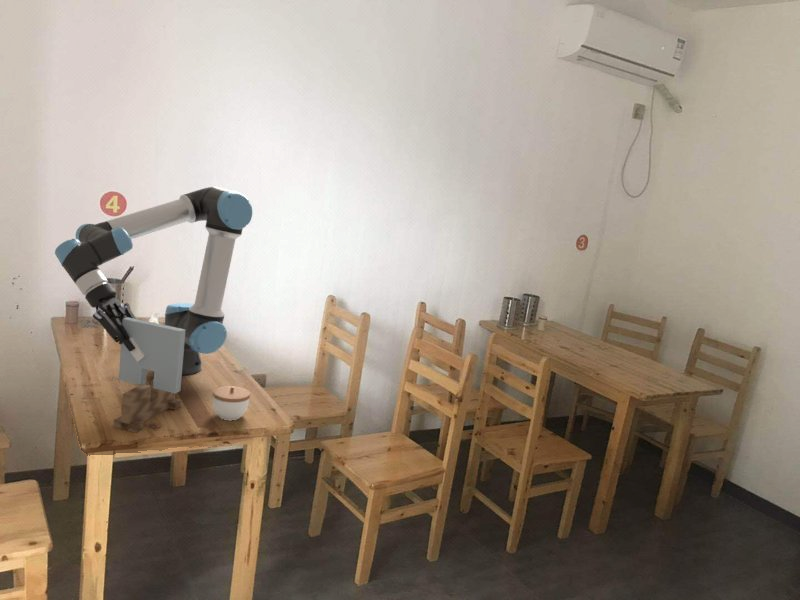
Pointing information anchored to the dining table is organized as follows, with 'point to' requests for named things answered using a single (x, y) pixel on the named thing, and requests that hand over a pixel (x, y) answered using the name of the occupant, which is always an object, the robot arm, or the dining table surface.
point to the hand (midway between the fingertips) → (144, 357)
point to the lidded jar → (230, 402)
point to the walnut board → (143, 406)
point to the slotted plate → (153, 354)
